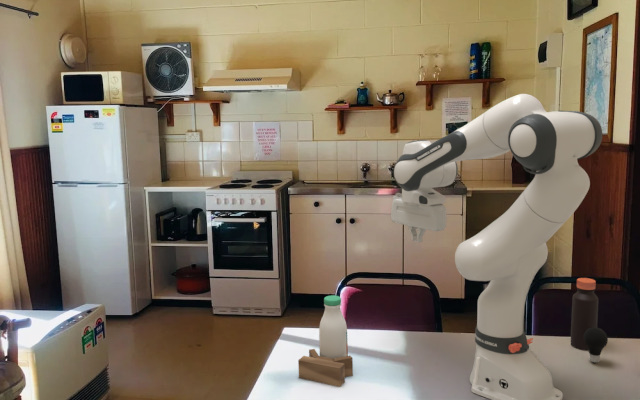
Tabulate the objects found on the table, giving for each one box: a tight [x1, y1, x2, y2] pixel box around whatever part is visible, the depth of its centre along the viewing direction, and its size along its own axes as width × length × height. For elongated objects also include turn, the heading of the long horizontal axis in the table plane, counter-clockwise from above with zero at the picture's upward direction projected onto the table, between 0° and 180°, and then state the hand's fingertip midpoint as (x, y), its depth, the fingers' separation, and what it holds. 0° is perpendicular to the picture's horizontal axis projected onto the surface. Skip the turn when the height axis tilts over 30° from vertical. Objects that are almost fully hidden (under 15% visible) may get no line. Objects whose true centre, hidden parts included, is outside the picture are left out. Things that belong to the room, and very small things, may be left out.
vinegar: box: [570, 277, 599, 351], centre depth 158 cm, size 7×7×20 cm
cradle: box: [298, 348, 354, 387], centre depth 145 cm, size 8×13×5 cm, turn 63°
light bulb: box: [584, 326, 609, 364], centre depth 148 cm, size 6×6×10 cm
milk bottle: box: [318, 294, 349, 359], centre depth 148 cm, size 8×8×20 cm
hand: (417, 241), depth 162 cm, fingers closed
